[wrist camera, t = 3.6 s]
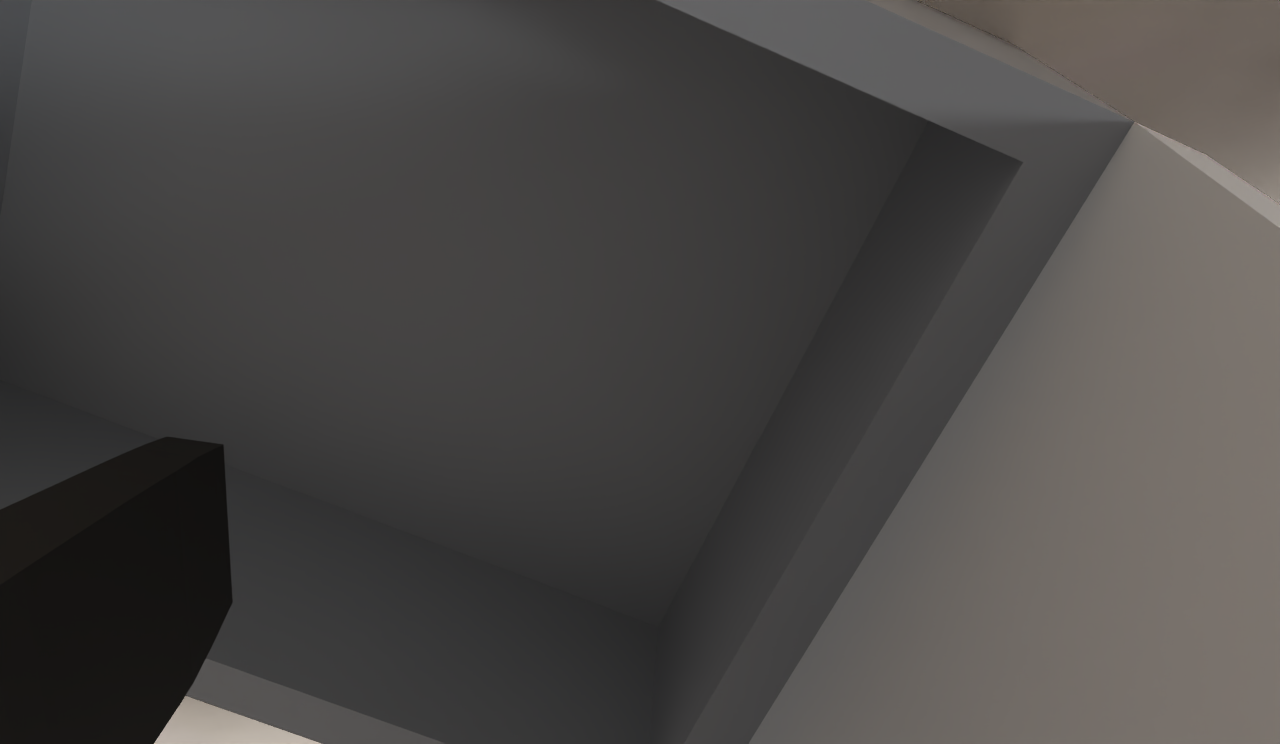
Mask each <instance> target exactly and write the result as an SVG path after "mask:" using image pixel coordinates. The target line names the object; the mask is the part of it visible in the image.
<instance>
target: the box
mask: <svg viewBox="0 0 1280 744" xmlns="http://www.w3.org/2000/svg"><path fill="white" fill-rule="evenodd" d="M1133 123H1134V121H1133V120H1131V119H1130V118H1128V117H1126V116H1125V115H1123V114H1122V113H1120V112H1119V111H1117V110H1115V109H1114V108H1112V107H1111V106H1109V105H1108V104H1106V103H1104V102H1103V101H1101V100H1100V99H1098V98H1097V97H1095V96H1093V95H1092V94H1090V93H1089V92H1087V91H1086V90H1084V89H1082V88H1081V87H1079V86H1078V85H1076V84H1075V83H1073V82H1071V81H1070V80H1068V79H1067V78H1065V77H1064V76H1062V75H1060V74H1059V73H1057V72H1056V71H1054V70H1053V69H1051V68H1049V67H1048V66H1046V65H1045V64H1043V63H1042V62H1040V61H1039V60H1037V59H1035V58H1034V57H1032V56H1031V55H1029V54H1028V53H1026V52H1024V51H1023V50H1021V49H1020V48H1018V47H1017V46H1015V45H1013V44H1011V43H1008V42H1006V41H1004V40H1002V39H1000V38H997V37H995V36H993V35H991V34H989V33H986V32H984V31H982V30H980V29H978V28H975V27H973V26H971V25H969V24H967V23H964V22H962V21H960V20H958V19H956V18H953V17H951V16H949V15H947V14H945V13H942V12H940V11H938V10H936V9H934V8H931V7H929V6H927V5H925V4H923V3H920V2H918V1H916V0H0V509H3V508H5V507H7V506H9V505H11V504H14V503H16V502H18V501H20V500H22V499H25V498H27V497H29V496H31V495H33V494H35V493H38V492H40V491H42V490H44V489H46V488H49V487H51V486H53V485H55V484H57V483H60V482H62V481H64V480H66V479H68V478H70V477H73V476H75V475H77V474H79V473H81V472H83V471H86V470H88V469H90V468H92V467H94V466H97V465H99V464H101V463H103V462H105V461H108V460H110V459H112V458H114V457H117V456H119V455H121V454H123V453H126V452H128V451H130V450H133V449H135V448H137V447H140V446H142V445H145V444H147V443H150V442H153V441H156V440H158V439H161V438H164V437H174V438H181V439H188V440H195V441H203V442H210V443H217V444H224V461H225V479H226V496H227V513H228V530H229V547H230V565H231V582H232V599H233V603H232V605H231V607H230V609H229V611H228V613H227V615H226V618H225V620H224V622H223V624H222V626H221V628H220V630H219V633H218V635H217V637H216V639H215V641H214V643H213V645H212V647H211V649H210V651H209V653H208V655H207V657H206V659H205V661H204V663H203V665H202V667H201V669H200V671H199V673H198V675H197V677H196V679H195V681H194V683H193V685H192V686H191V688H190V689H189V691H188V692H187V694H186V695H185V696H188V697H191V698H194V699H197V700H200V701H202V702H205V703H208V704H211V705H214V706H217V707H219V708H222V709H225V710H228V711H231V712H234V713H237V714H239V715H242V716H245V717H248V718H251V719H254V720H257V721H259V722H262V723H265V724H268V725H271V726H274V727H276V728H279V729H282V730H285V731H288V732H291V733H294V734H296V735H299V736H302V737H305V738H308V739H311V740H314V741H316V742H319V743H322V744H749V742H750V740H751V739H752V737H753V736H754V734H755V732H756V731H757V729H758V727H759V726H760V724H761V723H762V721H763V719H764V718H765V716H766V715H767V713H768V711H769V710H770V708H771V707H772V705H773V703H774V702H775V700H776V698H777V697H778V695H779V694H780V692H781V690H782V689H783V687H784V686H785V684H786V682H787V681H788V679H789V678H790V676H791V674H792V673H793V671H794V669H795V668H796V666H797V665H798V663H799V661H800V660H801V658H802V657H803V655H804V653H805V652H806V650H807V649H808V647H809V645H810V644H811V642H812V640H813V639H814V637H815V636H816V634H817V632H818V631H819V629H820V628H821V626H822V624H823V623H824V621H825V620H826V618H827V616H828V615H829V613H830V611H831V610H832V608H833V607H834V605H835V603H836V602H837V600H838V599H839V597H840V595H841V594H842V592H843V591H844V589H845V587H846V586H847V584H848V582H849V581H850V579H851V578H852V576H853V574H854V573H855V571H856V570H857V568H858V566H859V565H860V563H861V562H862V560H863V558H864V557H865V555H866V554H867V552H868V550H869V549H870V547H871V545H872V544H873V542H874V541H875V539H876V537H877V536H878V534H879V533H880V531H881V529H882V528H883V526H884V525H885V523H886V521H887V520H888V518H889V516H890V515H891V513H892V512H893V510H894V508H895V507H896V505H897V504H898V502H899V500H900V499H901V497H902V496H903V494H904V492H905V491H906V489H907V487H908V486H909V484H910V483H911V481H912V479H913V478H914V476H915V475H916V473H917V471H918V470H919V468H920V467H921V465H922V463H923V462H924V460H925V458H926V457H927V455H928V454H929V452H930V450H931V449H932V447H933V446H934V444H935V442H936V441H937V439H938V438H939V436H940V434H941V433H942V431H943V429H944V428H945V426H946V425H947V423H948V421H949V420H950V418H951V417H952V415H953V413H954V412H955V410H956V409H957V407H958V405H959V404H960V402H961V400H962V399H963V397H964V396H965V394H966V392H967V391H968V389H969V388H970V386H971V384H972V383H973V381H974V380H975V378H976V376H977V375H978V373H979V372H980V370H981V368H982V367H983V365H984V363H985V362H986V360H987V359H988V357H989V355H990V354H991V352H992V351H993V349H994V347H995V346H996V344H997V343H998V341H999V339H1000V338H1001V336H1002V334H1003V333H1004V331H1005V330H1006V328H1007V326H1008V325H1009V323H1010V322H1011V320H1012V318H1013V317H1014V315H1015V314H1016V312H1017V310H1018V309H1019V307H1020V305H1021V304H1022V302H1023V301H1024V299H1025V297H1026V296H1027V294H1028V293H1029V291H1030V289H1031V288H1032V286H1033V285H1034V283H1035V281H1036V280H1037V278H1038V276H1039V275H1040V273H1041V272H1042V270H1043V268H1044V267H1045V265H1046V264H1047V262H1048V260H1049V259H1050V257H1051V256H1052V254H1053V252H1054V251H1055V249H1056V247H1057V246H1058V244H1059V243H1060V241H1061V239H1062V238H1063V236H1064V235H1065V233H1066V231H1067V230H1068V228H1069V227H1070V225H1071V223H1072V222H1073V220H1074V218H1075V217H1076V215H1077V214H1078V212H1079V210H1080V209H1081V207H1082V206H1083V204H1084V202H1085V201H1086V199H1087V198H1088V196H1089V194H1090V193H1091V191H1092V190H1093V188H1094V186H1095V185H1096V183H1097V181H1098V180H1099V178H1100V177H1101V175H1102V173H1103V172H1104V170H1105V169H1106V167H1107V165H1108V164H1109V162H1110V161H1111V159H1112V157H1113V156H1114V154H1115V152H1116V151H1117V149H1118V148H1119V146H1120V144H1121V143H1122V141H1123V140H1124V138H1125V136H1126V135H1127V133H1128V132H1129V130H1130V128H1131V127H1132V125H1133Z"/></svg>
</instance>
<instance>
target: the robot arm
mask: <svg viewBox="0 0 1280 744" xmlns="http://www.w3.org/2000/svg"><path fill="white" fill-rule="evenodd" d="M232 603H233V599H232V582H231V565H230V547H229V530H228V513H227V496H226V479H225V461H224V444H217V443H210V442H203V441H195V440H188V439H181V438H174V437H164V438H161V439H158V440H156V441H153V442H150V443H147V444H145V445H142V446H140V447H137V448H135V449H133V450H130V451H128V452H126V453H123V454H121V455H119V456H117V457H114V458H112V459H110V460H108V461H105V462H103V463H101V464H99V465H97V466H94V467H92V468H90V469H88V470H86V471H83V472H81V473H79V474H77V475H75V476H73V477H70V478H68V479H66V480H64V481H62V482H60V483H57V484H55V485H53V486H51V487H49V488H46V489H44V490H42V491H40V492H38V493H35V494H33V495H31V496H29V497H27V498H25V499H22V500H20V501H18V502H16V503H14V504H11V505H9V506H7V507H5V508H3V509H0V744H154V742H155V741H156V739H157V738H158V736H159V735H160V733H161V732H162V730H163V729H164V727H165V726H166V724H167V723H168V721H169V720H170V718H171V717H172V715H173V714H174V712H175V711H176V709H177V708H178V706H179V705H180V703H181V702H182V700H183V699H184V697H185V695H186V694H187V692H188V691H189V689H190V688H191V686H192V685H193V683H194V681H195V679H196V677H197V675H198V673H199V671H200V669H201V667H202V665H203V663H204V661H205V659H206V657H207V655H208V653H209V651H210V649H211V647H212V645H213V643H214V641H215V639H216V637H217V635H218V633H219V630H220V628H221V626H222V624H223V622H224V620H225V618H226V615H227V613H228V611H229V609H230V607H231V605H232Z"/></svg>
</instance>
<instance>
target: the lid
mask: <svg viewBox="0 0 1280 744" xmlns="http://www.w3.org/2000/svg"><path fill="white" fill-rule="evenodd" d="M749 744H1280V204H1279V203H1277V202H1276V201H1274V200H1273V199H1271V198H1270V197H1268V196H1267V195H1265V194H1264V193H1262V192H1261V191H1259V190H1258V189H1256V188H1255V187H1253V186H1252V185H1250V184H1249V183H1247V182H1246V181H1244V180H1243V179H1241V178H1240V177H1239V176H1237V175H1236V174H1234V173H1233V172H1231V171H1230V170H1228V169H1227V168H1225V167H1224V166H1222V165H1221V164H1219V163H1218V162H1216V161H1215V160H1213V159H1212V158H1210V157H1209V156H1207V155H1206V154H1204V153H1201V152H1199V151H1197V150H1195V149H1193V148H1191V147H1188V146H1186V145H1184V144H1182V143H1180V142H1177V141H1175V140H1173V139H1171V138H1169V137H1167V136H1164V135H1162V134H1160V133H1158V132H1156V131H1154V130H1151V129H1149V128H1147V127H1145V126H1143V125H1141V124H1138V123H1136V122H1134V123H1133V125H1132V127H1131V128H1130V130H1129V132H1128V133H1127V135H1126V136H1125V138H1124V140H1123V141H1122V143H1121V144H1120V146H1119V148H1118V149H1117V151H1116V152H1115V154H1114V156H1113V157H1112V159H1111V161H1110V162H1109V164H1108V165H1107V167H1106V169H1105V170H1104V172H1103V173H1102V175H1101V177H1100V178H1099V180H1098V181H1097V183H1096V185H1095V186H1094V188H1093V190H1092V191H1091V193H1090V194H1089V196H1088V198H1087V199H1086V201H1085V202H1084V204H1083V206H1082V207H1081V209H1080V210H1079V212H1078V214H1077V215H1076V217H1075V218H1074V220H1073V222H1072V223H1071V225H1070V227H1069V228H1068V230H1067V231H1066V233H1065V235H1064V236H1063V238H1062V239H1061V241H1060V243H1059V244H1058V246H1057V247H1056V249H1055V251H1054V252H1053V254H1052V256H1051V257H1050V259H1049V260H1048V262H1047V264H1046V265H1045V267H1044V268H1043V270H1042V272H1041V273H1040V275H1039V276H1038V278H1037V280H1036V281H1035V283H1034V285H1033V286H1032V288H1031V289H1030V291H1029V293H1028V294H1027V296H1026V297H1025V299H1024V301H1023V302H1022V304H1021V305H1020V307H1019V309H1018V310H1017V312H1016V314H1015V315H1014V317H1013V318H1012V320H1011V322H1010V323H1009V325H1008V326H1007V328H1006V330H1005V331H1004V333H1003V334H1002V336H1001V338H1000V339H999V341H998V343H997V344H996V346H995V347H994V349H993V351H992V352H991V354H990V355H989V357H988V359H987V360H986V362H985V363H984V365H983V367H982V368H981V370H980V372H979V373H978V375H977V376H976V378H975V380H974V381H973V383H972V384H971V386H970V388H969V389H968V391H967V392H966V394H965V396H964V397H963V399H962V400H961V402H960V404H959V405H958V407H957V409H956V410H955V412H954V413H953V415H952V417H951V418H950V420H949V421H948V423H947V425H946V426H945V428H944V429H943V431H942V433H941V434H940V436H939V438H938V439H937V441H936V442H935V444H934V446H933V447H932V449H931V450H930V452H929V454H928V455H927V457H926V458H925V460H924V462H923V463H922V465H921V467H920V468H919V470H918V471H917V473H916V475H915V476H914V478H913V479H912V481H911V483H910V484H909V486H908V487H907V489H906V491H905V492H904V494H903V496H902V497H901V499H900V500H899V502H898V504H897V505H896V507H895V508H894V510H893V512H892V513H891V515H890V516H889V518H888V520H887V521H886V523H885V525H884V526H883V528H882V529H881V531H880V533H879V534H878V536H877V537H876V539H875V541H874V542H873V544H872V545H871V547H870V549H869V550H868V552H867V554H866V555H865V557H864V558H863V560H862V562H861V563H860V565H859V566H858V568H857V570H856V571H855V573H854V574H853V576H852V578H851V579H850V581H849V582H848V584H847V586H846V587H845V589H844V591H843V592H842V594H841V595H840V597H839V599H838V600H837V602H836V603H835V605H834V607H833V608H832V610H831V611H830V613H829V615H828V616H827V618H826V620H825V621H824V623H823V624H822V626H821V628H820V629H819V631H818V632H817V634H816V636H815V637H814V639H813V640H812V642H811V644H810V645H809V647H808V649H807V650H806V652H805V653H804V655H803V657H802V658H801V660H800V661H799V663H798V665H797V666H796V668H795V669H794V671H793V673H792V674H791V676H790V678H789V679H788V681H787V682H786V684H785V686H784V687H783V689H782V690H781V692H780V694H779V695H778V697H777V698H776V700H775V702H774V703H773V705H772V707H771V708H770V710H769V711H768V713H767V715H766V716H765V718H764V719H763V721H762V723H761V724H760V726H759V727H758V729H757V731H756V732H755V734H754V736H753V737H752V739H751V740H750V742H749Z"/></svg>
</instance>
